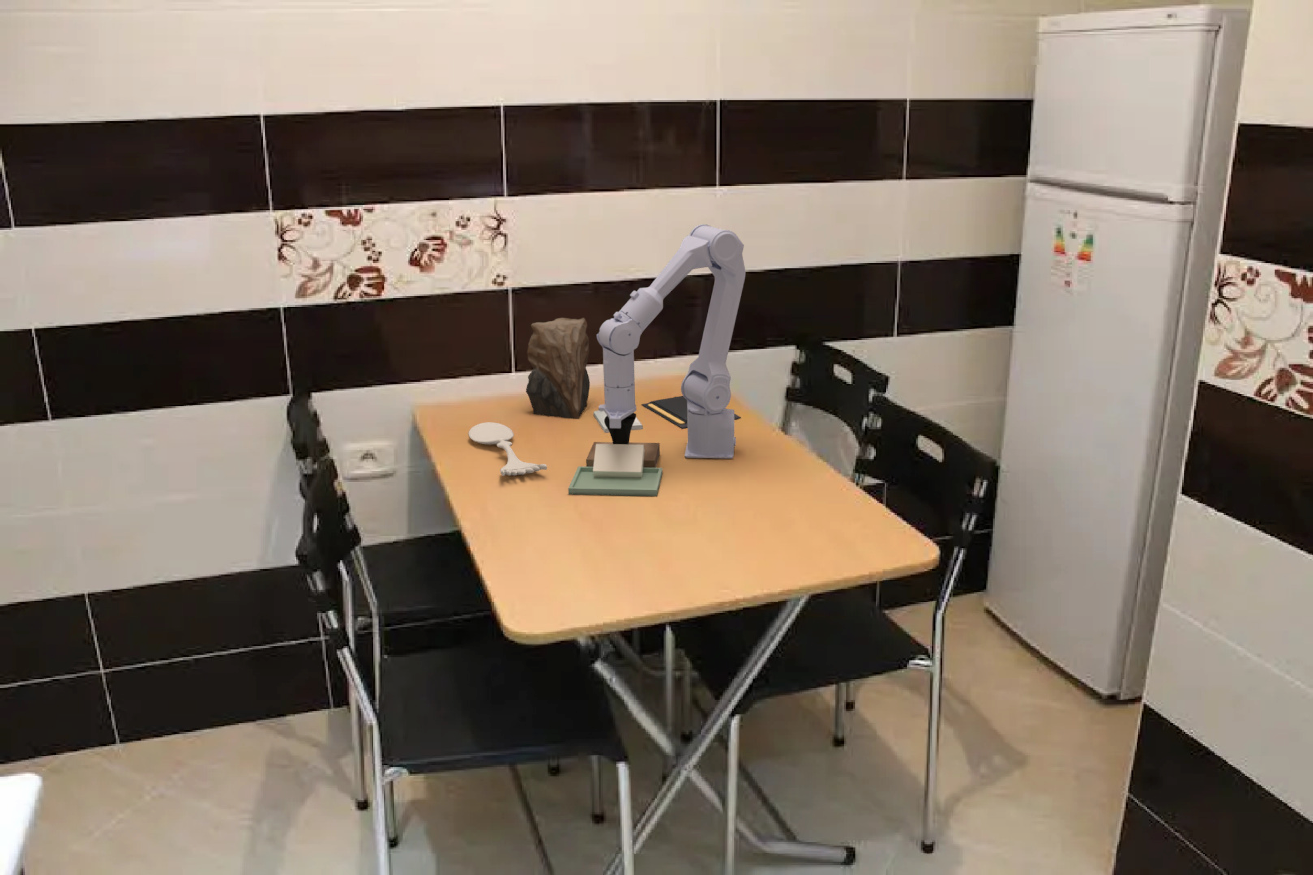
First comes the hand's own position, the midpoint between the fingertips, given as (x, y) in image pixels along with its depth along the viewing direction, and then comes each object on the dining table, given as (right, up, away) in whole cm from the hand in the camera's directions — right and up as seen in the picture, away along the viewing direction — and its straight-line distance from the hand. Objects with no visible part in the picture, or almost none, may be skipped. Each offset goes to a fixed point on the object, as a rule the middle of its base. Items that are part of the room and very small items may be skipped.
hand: (621, 452), depth 213 cm
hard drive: (-2, +5, +28) cm, 29 cm away
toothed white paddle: (-23, -1, +9) cm, 25 cm away
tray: (-1, -6, -7) cm, 9 cm away
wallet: (+14, +8, +34) cm, 38 cm away
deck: (0, -2, +4) cm, 4 cm away
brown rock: (-14, +8, +36) cm, 39 cm away
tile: (0, -2, -3) cm, 3 cm away
